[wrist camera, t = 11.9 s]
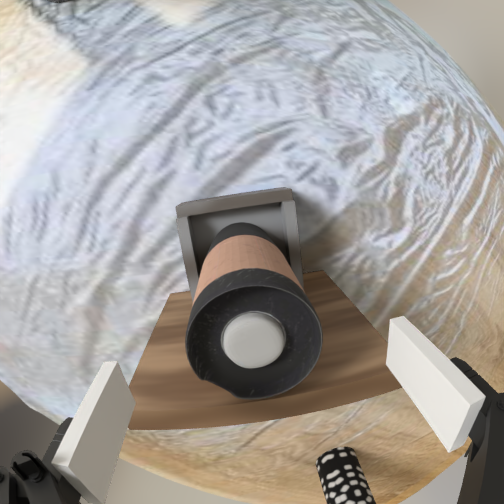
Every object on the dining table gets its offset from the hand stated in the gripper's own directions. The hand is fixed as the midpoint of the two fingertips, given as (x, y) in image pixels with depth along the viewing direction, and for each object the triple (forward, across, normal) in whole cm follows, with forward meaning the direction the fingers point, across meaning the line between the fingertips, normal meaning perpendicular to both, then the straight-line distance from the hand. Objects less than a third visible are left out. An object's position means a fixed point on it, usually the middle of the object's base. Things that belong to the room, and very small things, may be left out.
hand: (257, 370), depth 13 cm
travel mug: (+22, 0, -1) cm, 23 cm away
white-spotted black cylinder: (+25, +12, -47) cm, 55 cm away
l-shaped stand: (+25, 0, -1) cm, 25 cm away
